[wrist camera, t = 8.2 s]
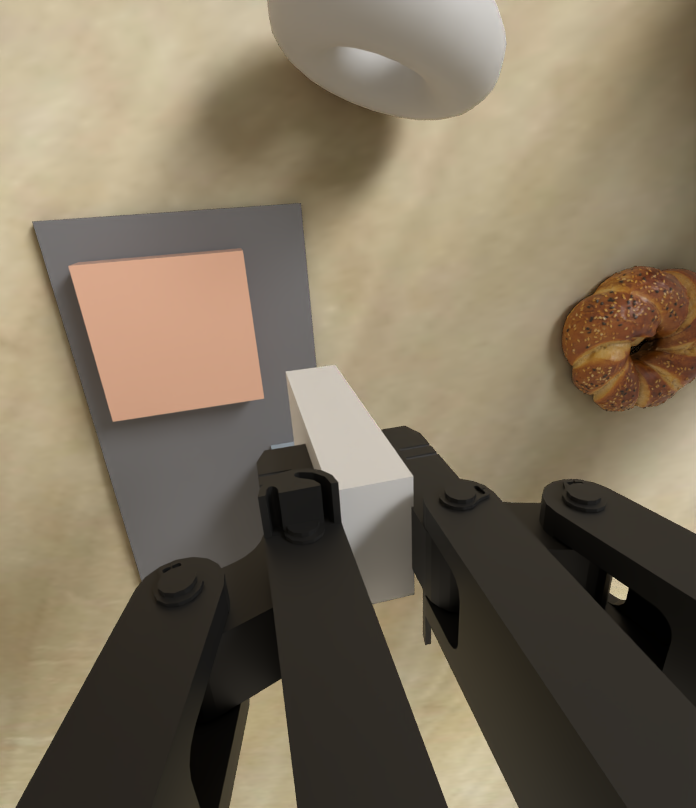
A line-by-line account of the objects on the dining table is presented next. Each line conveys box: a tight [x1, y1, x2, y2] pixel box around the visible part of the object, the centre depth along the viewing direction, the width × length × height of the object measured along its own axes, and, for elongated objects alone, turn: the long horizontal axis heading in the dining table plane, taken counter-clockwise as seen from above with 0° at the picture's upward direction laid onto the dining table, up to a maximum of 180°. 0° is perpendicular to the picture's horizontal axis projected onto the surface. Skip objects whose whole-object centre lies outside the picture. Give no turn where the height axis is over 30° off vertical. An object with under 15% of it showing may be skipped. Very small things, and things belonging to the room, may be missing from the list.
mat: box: [33, 203, 316, 581], centre depth 29 cm, size 24×13×1 cm, turn 4°
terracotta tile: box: [68, 248, 264, 422], centre depth 25 cm, size 8×2×8 cm
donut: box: [267, 0, 506, 120], centre depth 20 cm, size 10×4×10 cm, turn 73°
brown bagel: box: [562, 266, 696, 411], centre depth 33 cm, size 12×11×4 cm
